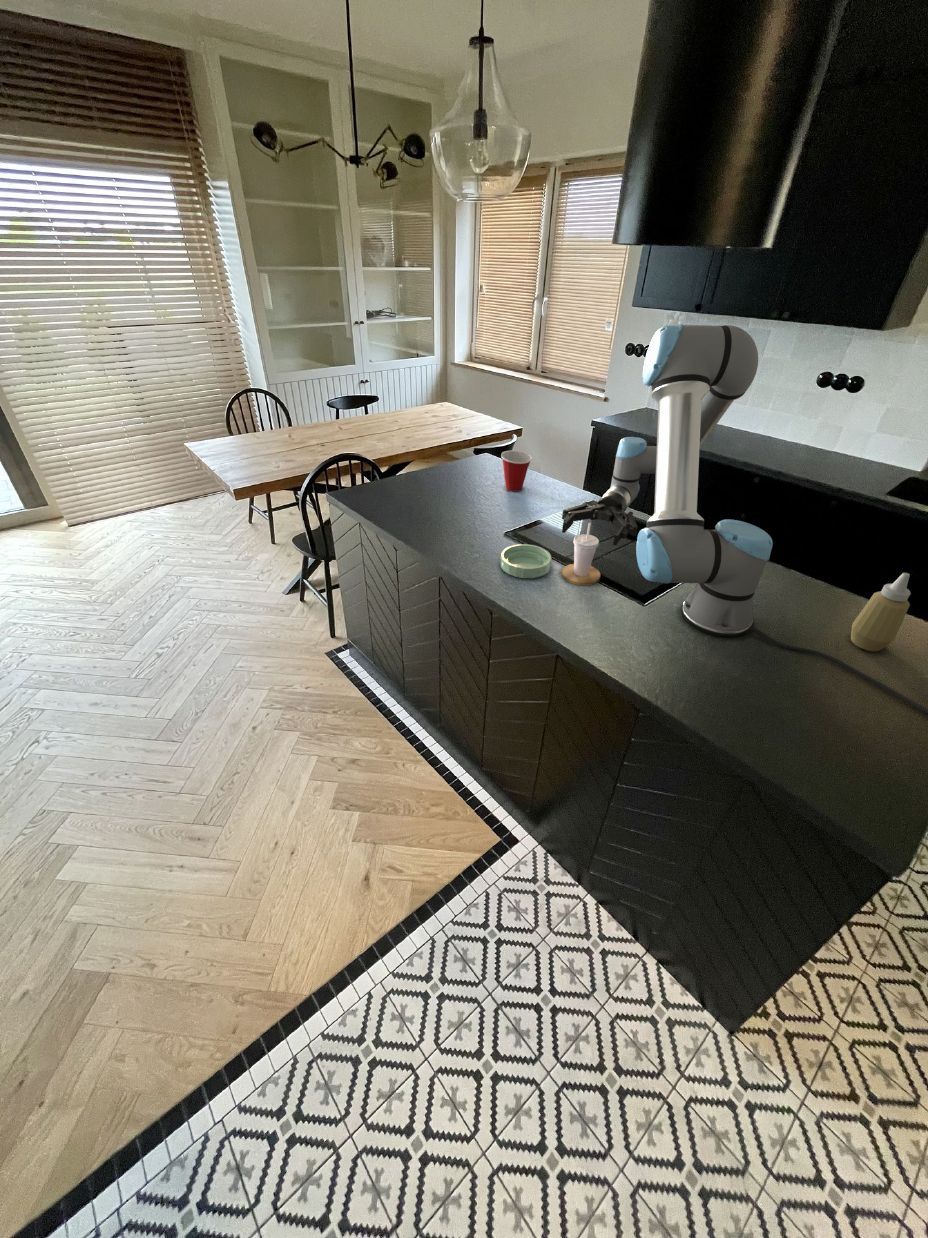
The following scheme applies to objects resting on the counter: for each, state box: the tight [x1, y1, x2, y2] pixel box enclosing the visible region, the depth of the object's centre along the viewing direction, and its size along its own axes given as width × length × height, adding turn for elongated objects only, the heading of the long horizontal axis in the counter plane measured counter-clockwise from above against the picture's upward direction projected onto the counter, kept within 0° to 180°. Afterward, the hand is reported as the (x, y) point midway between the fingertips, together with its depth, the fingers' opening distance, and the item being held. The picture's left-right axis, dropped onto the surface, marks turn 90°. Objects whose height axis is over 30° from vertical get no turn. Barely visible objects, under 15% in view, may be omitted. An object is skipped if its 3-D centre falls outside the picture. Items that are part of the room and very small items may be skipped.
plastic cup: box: [500, 449, 533, 492], centre depth 185 cm, size 11×11×12 cm
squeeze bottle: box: [850, 572, 912, 652], centre depth 112 cm, size 8×8×18 cm
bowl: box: [500, 543, 553, 579], centre depth 143 cm, size 13×13×3 cm
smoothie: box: [572, 522, 600, 576], centre depth 136 cm, size 6×6×14 cm
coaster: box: [561, 563, 601, 586], centre depth 140 cm, size 10×10×1 cm
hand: (589, 534), depth 134 cm, fingers open, 13 cm apart
